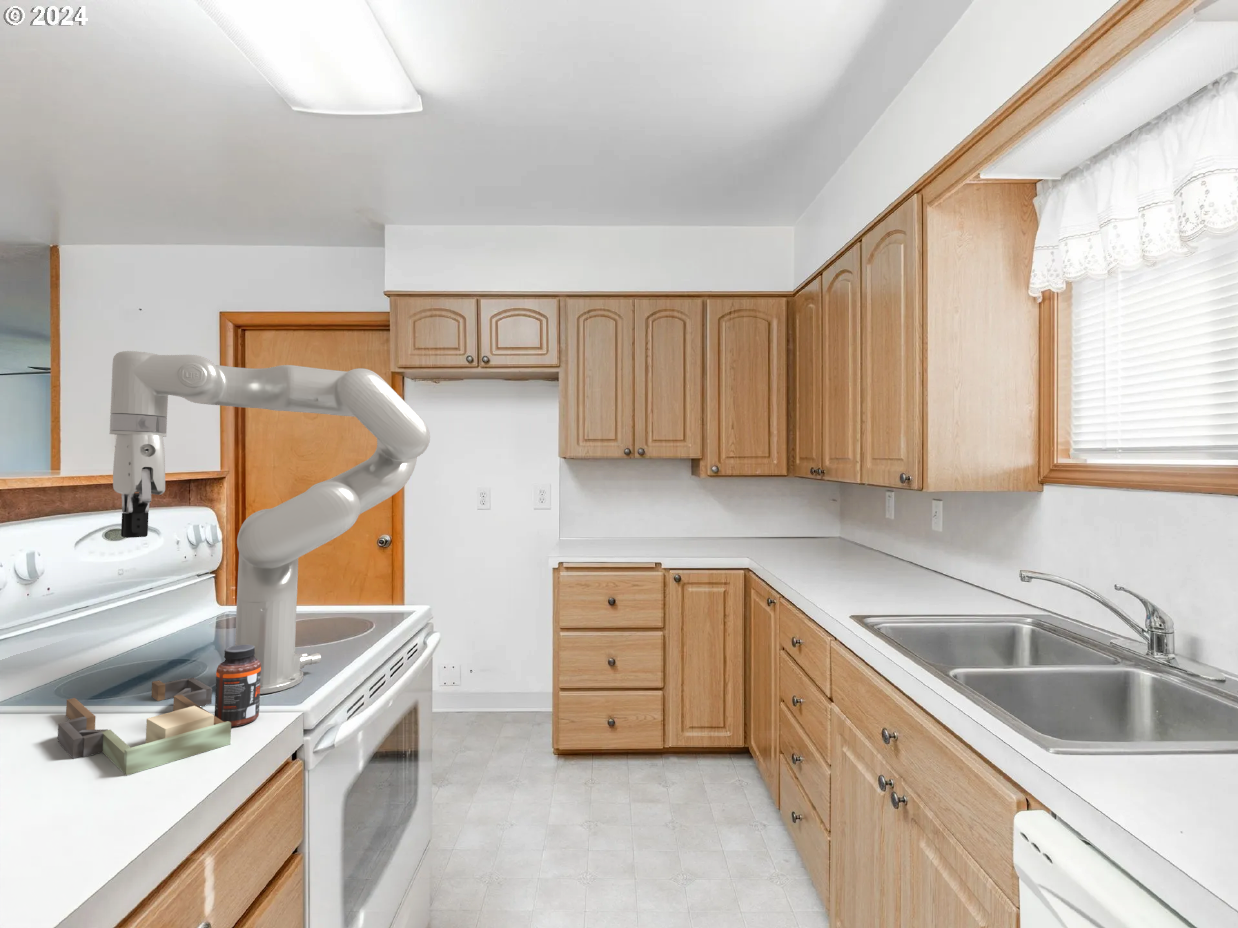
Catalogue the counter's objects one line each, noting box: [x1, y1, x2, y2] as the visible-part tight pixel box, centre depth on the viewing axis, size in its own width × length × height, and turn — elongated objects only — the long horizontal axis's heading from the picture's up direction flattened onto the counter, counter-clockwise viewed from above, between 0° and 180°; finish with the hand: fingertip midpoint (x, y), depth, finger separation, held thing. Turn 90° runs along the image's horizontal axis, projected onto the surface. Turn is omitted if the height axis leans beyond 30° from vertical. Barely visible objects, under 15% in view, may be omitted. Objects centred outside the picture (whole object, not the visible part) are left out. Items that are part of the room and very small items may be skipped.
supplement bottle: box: [213, 645, 261, 728], centre depth 96 cm, size 6×6×11 cm
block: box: [145, 706, 215, 744], centre depth 88 cm, size 6×6×4 cm
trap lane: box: [57, 677, 232, 776], centre depth 93 cm, size 19×29×3 cm, turn 53°
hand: (134, 536), depth 103 cm, fingers closed
